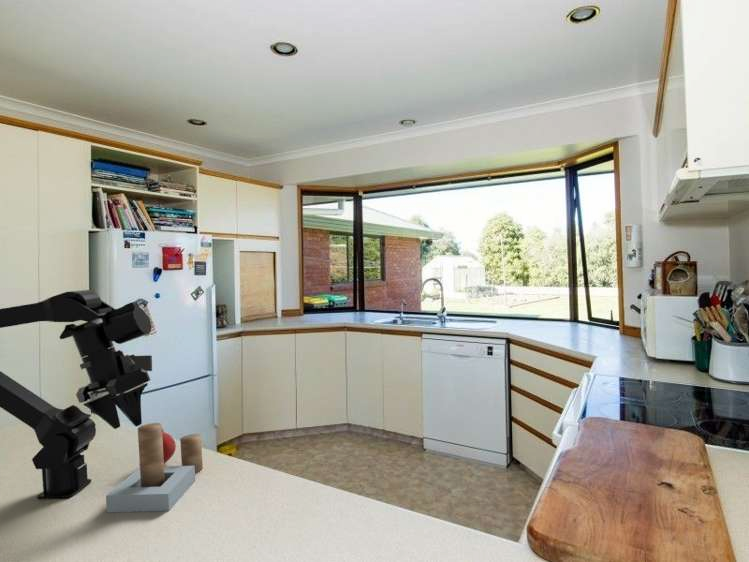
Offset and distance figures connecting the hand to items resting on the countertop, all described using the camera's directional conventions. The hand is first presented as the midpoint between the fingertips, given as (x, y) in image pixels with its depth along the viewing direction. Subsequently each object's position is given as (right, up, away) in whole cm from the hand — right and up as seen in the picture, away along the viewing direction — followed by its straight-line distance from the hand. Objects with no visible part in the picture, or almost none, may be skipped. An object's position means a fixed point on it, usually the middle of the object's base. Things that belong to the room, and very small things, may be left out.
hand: (127, 426), depth 88 cm
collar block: (+7, -12, -4) cm, 14 cm away
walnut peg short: (+10, -11, +6) cm, 16 cm away
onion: (+2, -12, +9) cm, 15 cm away
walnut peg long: (+7, -12, -4) cm, 14 cm away
